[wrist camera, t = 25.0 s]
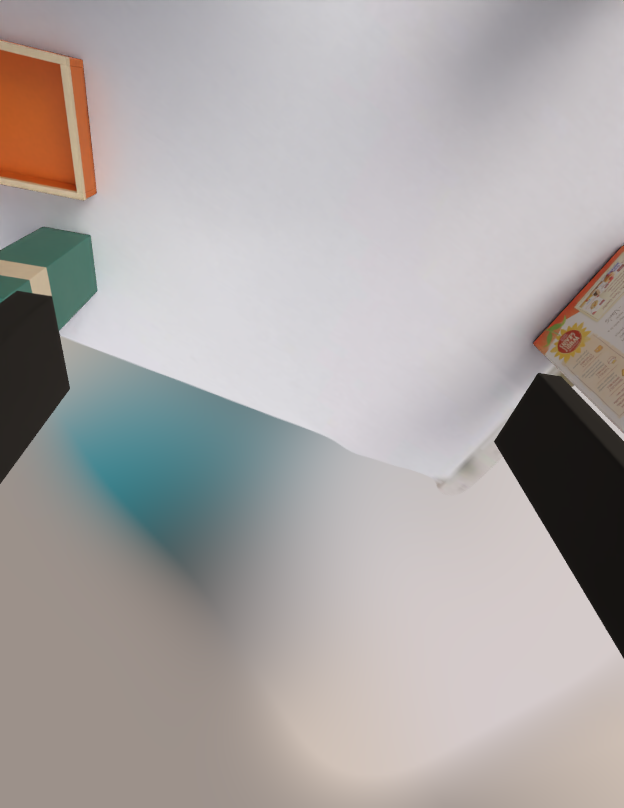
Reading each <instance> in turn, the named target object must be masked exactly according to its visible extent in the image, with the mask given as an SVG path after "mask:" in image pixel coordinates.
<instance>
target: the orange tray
mask: <svg viewBox="0 0 624 808" xmlns="http://www.w3.org/2000/svg"><path fill="white" fill-rule="evenodd" d="M0 184H2V185H7V186H12V187H17V188H22V189H27V190H32V191H37V192H42V193H47V194H53V195H58V196H63V197H68V198H73V199H78V200H83V201H84V200H86V199H87V198H89V197H91V196H93V195H94V194H96V193H97V192H96V182H95V173H94V163H93V154H92V144H91V135H90V126H89V116H88V107H87V97H86V88H85V78H84V69H83V60H81V59H77V58H73V57H69V56H65V55H61V54H57V53H53V52H49V51H45V50H41V49H37V48H32V47H28V46H24V45H20V44H16V43H12V42H8V41H4V40H0Z"/></svg>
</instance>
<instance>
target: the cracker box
mask: <svg viewBox="0 0 624 808" xmlns="http://www.w3.org/2000/svg"><path fill="white" fill-rule="evenodd" d="M533 344H534V345H535V346H536V347H537V348H538V349H539V351H541V352H542V353H543V354H544V355H545V356H546V357H547V358H548V359H549V360H550V361H551V362H552V363H553V364H554V365H555V366H556V367H557V368H558V369H559V370H560V371H561V372H562V373H563V374H564V375H565V376H566V377H567V378H568V379H569V380H570V381H571V382H572V383H573V384H574V385H575V386H576V387H577V388H578V389H579V390H580V391H581V392H582V393H583V394H584V395H585V396H586V397H587V398H588V399H589V400H590V401H591V402H592V403H593V404H594V405H595V406H596V407H597V408H598V409H599V410H600V411H601V412H602V413H603V414H604V415H605V416H606V417H607V418H608V419H610V421H611V422H613V424H615V425H616V426H617V427H618V428H619V429H620V430H621V431H622V432H623V433H624V245H623V246H622V247H621V248H620V249H619V250H618V251H617V252H616V254H615V255H614V256H613V257H612V258H611V259H610V260H609V261H608V262H607V263H606V264H605V266H604V267H603V268H602V269H601V270H600V271H599V272H598V273H597V274H596V275H595V276H594V277H593V279H592V280H591V281H590V282H589V283H588V284H587V285H586V286H585V287H584V288H583V289H582V291H581V292H580V293H579V294H578V295H577V296H576V297H575V298H574V299H573V300H572V301H571V302H570V304H569V305H568V306H567V307H566V308H565V309H564V310H563V311H562V312H561V313H560V314H559V316H558V317H557V318H556V319H555V320H554V321H553V322H552V323H551V324H550V325H549V326H548V327H547V329H546V330H545V331H544V332H543V333H542V334H541V335H540V336H539V337H538V338H537V339H536V340H535V342H534V343H533Z"/></svg>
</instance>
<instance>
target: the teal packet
mask: <svg viewBox="0 0 624 808" xmlns="http://www.w3.org/2000/svg"><path fill="white" fill-rule="evenodd" d="M16 291H22V292H29V293H35V294H41V295H48V296H52V298H53V303H54V308H55V314H56V319H57V324H58V329H59V331H60V329H61V328H62V327H63V326H64V325H65V324H66V323H67V322H68V321H69V320H70V319H71V318H72V317H73V316H74V315H75V314H76V313H77V312H78V311H79V310H80V309H81V307H82V306H83V305H84V304H85V303H86V302H87V301H88V300H89V299H90V298H91V297H92V296H93V295H94V294H95V293H96V292H97V284H96V276H95V268H94V260H93V252H92V244H91V236H90V235H86V234H80V233H75V232H69V231H64V230H58V229H53V228H47V227H42V228H40V229H38V230H36V231H34V232H32V233H31V234H29V235H27V236H25V237H23V238H22V239H20V240H18V241H16V242H14V243H13V244H11V245H9V246H7V247H5V248H3V249H2V250H0V303H1V302H2V301H4V300H5V299H6V298H8V297H9V296H11V295H12V294H13V293H15V292H16Z"/></svg>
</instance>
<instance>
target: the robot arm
mask: <svg viewBox="0 0 624 808" xmlns="http://www.w3.org/2000/svg"><path fill="white" fill-rule="evenodd" d="M69 389H70V386H69V381H68V376H67V371H66V366H65V361H64V356H63V350H62V345H61V340H60V334H59V329H58V324H57V319H56V314H55V308H54V303H53V298H52V296H48V295H41V294H35V293H29V292H22V291H16V292H15V293H13V294H12V295H11V296H9V297H8V298H6V299H5V300H4V301H2V302H1V303H0V484H1V482H2V481H3V479H4V478H5V477H6V475H7V474H8V473H9V471H10V470H11V468H12V467H13V466H14V464H15V463H16V462H17V460H18V459H19V458H20V456H21V455H22V454H23V452H24V451H25V449H26V448H27V447H28V445H29V444H30V443H31V441H32V440H33V438H34V437H35V436H36V434H37V433H38V432H39V430H40V429H41V428H42V426H43V425H44V423H45V422H46V421H47V419H48V418H49V417H50V415H51V414H52V413H53V411H54V410H55V408H56V407H57V406H58V404H59V403H60V401H61V400H62V399H63V398H64V396H65V395H66V393H67V392H68V391H69ZM494 442H495V444H496V446H497V447H498V449H499V451H500V452H501V454H502V456H503V457H504V459H505V461H506V462H507V464H508V466H509V467H510V469H511V470H512V472H513V474H514V476H515V477H516V479H517V480H518V482H519V484H520V486H521V487H522V489H523V491H524V492H525V494H526V496H527V497H528V499H529V501H530V502H531V504H532V506H533V507H534V509H535V511H536V512H537V514H538V516H539V518H540V519H541V521H542V523H543V524H544V526H545V527H546V529H547V531H548V532H549V534H550V536H551V538H552V539H553V541H554V543H555V544H556V546H557V548H558V549H559V551H560V553H561V554H562V556H563V558H564V559H565V561H566V563H567V564H568V566H569V568H570V569H571V571H572V573H573V574H574V576H575V578H576V579H577V581H578V583H579V584H580V586H581V588H582V589H583V591H584V593H585V594H586V596H587V598H588V600H589V601H590V603H591V604H592V606H593V608H594V609H595V611H596V613H597V615H598V616H599V618H600V620H601V621H602V623H603V625H604V626H605V628H606V630H607V631H608V633H609V635H610V636H611V638H612V640H613V641H614V643H615V645H616V646H617V648H618V650H619V651H620V653H621V655H622V656H623V658H624V441H623V440H622V439H621V438H620V437H619V436H618V435H617V434H616V433H615V432H614V431H613V430H612V429H611V428H610V427H609V425H608V424H607V423H606V422H605V421H604V420H603V419H602V418H601V417H600V416H599V415H598V414H597V413H596V412H595V411H594V410H593V409H592V408H591V407H590V406H589V405H588V404H587V403H586V402H585V401H584V400H583V399H582V398H581V397H580V396H579V395H578V394H577V393H576V392H575V390H573V389H572V387H571V386H570V385H569V384H568V383H567V382H566V381H565V380H564V379H563V378H562V377H560V376H554V375H548V374H541V373H538V374H537V375H536V377H535V378H534V380H533V382H532V383H531V385H530V386H529V388H528V389H527V391H526V393H525V394H524V396H523V397H522V399H521V400H520V402H519V403H518V405H517V407H516V408H515V410H514V411H513V413H512V414H511V416H510V417H509V419H508V421H507V422H506V424H505V425H504V427H503V428H502V430H501V432H500V433H499V435H498V436H497V438H496V439H495V441H494Z"/></svg>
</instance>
